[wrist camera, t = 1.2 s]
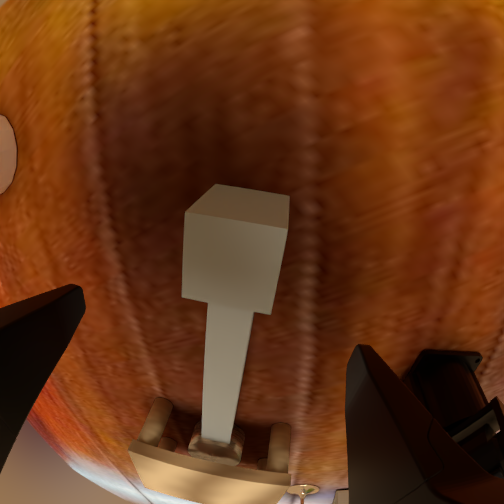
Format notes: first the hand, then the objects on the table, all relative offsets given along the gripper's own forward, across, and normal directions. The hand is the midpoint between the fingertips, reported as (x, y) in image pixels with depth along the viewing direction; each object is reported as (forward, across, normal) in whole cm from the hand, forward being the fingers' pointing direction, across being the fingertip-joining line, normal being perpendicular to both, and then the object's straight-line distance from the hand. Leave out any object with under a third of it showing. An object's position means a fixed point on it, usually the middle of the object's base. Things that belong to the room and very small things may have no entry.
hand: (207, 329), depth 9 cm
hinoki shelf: (+9, 0, +22) cm, 24 cm away
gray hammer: (+9, 0, +8) cm, 12 cm away
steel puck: (+9, 0, +21) cm, 23 cm away
